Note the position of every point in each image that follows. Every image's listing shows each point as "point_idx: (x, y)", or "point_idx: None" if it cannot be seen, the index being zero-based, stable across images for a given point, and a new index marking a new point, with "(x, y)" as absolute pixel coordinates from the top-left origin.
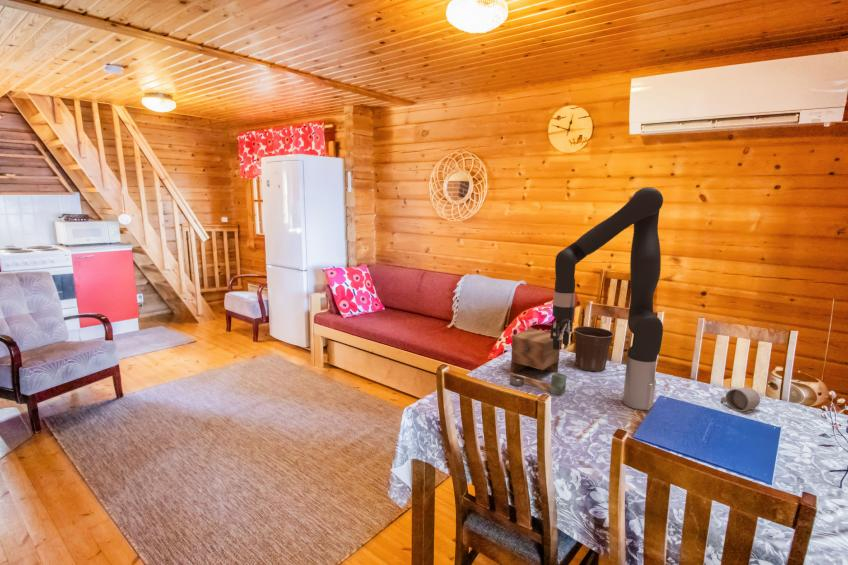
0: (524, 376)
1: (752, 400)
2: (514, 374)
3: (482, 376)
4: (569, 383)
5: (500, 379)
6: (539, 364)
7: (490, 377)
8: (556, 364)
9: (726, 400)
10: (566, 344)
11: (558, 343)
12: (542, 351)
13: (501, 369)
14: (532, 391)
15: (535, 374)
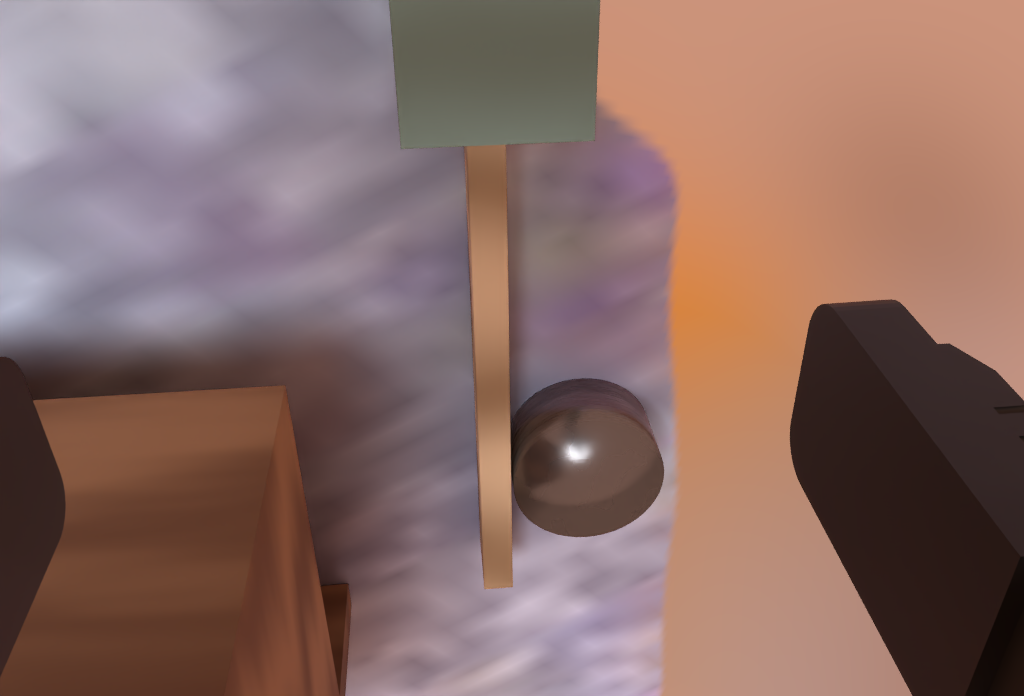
0: (481, 459)
1: None
2: (510, 546)
3: (625, 687)
4: (2, 4)
5: (578, 578)
6: (286, 478)
7: (598, 645)
8: None
9: None
10: (20, 386)
11: (1014, 455)
12: (247, 630)
13: None
14: (654, 231)
15: None
